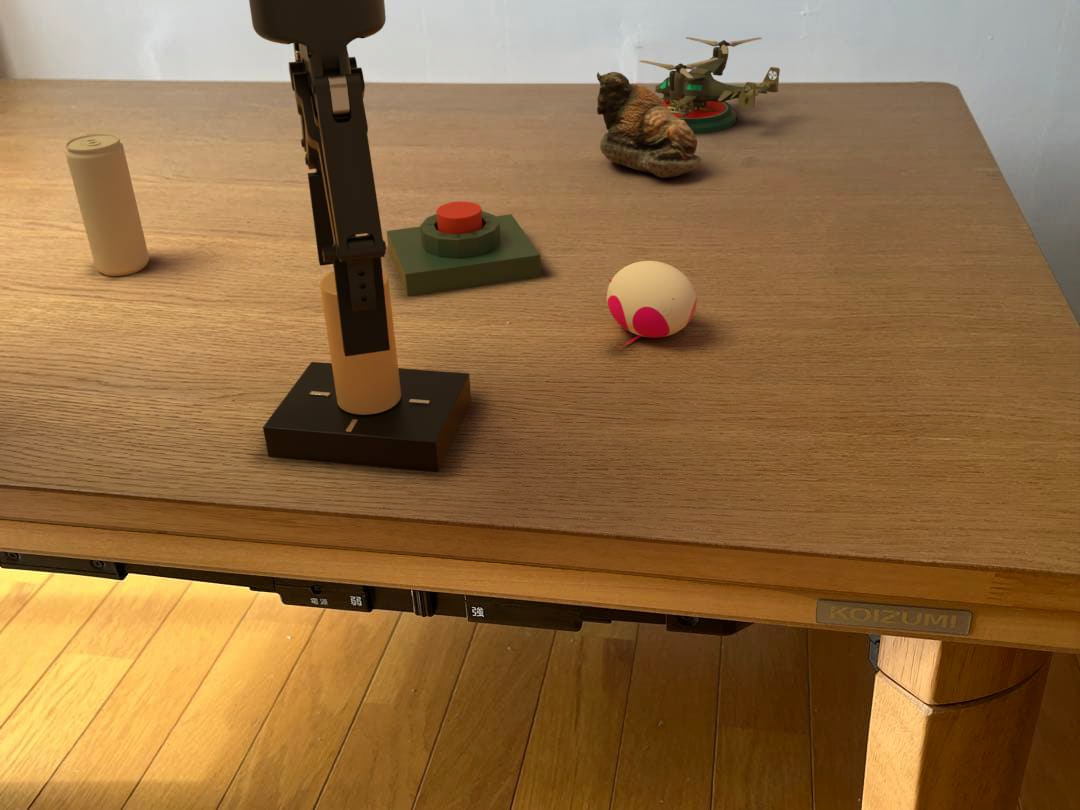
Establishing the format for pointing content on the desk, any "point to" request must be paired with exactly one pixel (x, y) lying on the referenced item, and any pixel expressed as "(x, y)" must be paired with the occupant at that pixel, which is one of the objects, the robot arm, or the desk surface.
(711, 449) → the desk surface
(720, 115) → the toy helicopter
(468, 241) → the button box
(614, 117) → the bison figurine
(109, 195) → the beverage can
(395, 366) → the knob
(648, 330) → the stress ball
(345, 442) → the panel
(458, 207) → the button
